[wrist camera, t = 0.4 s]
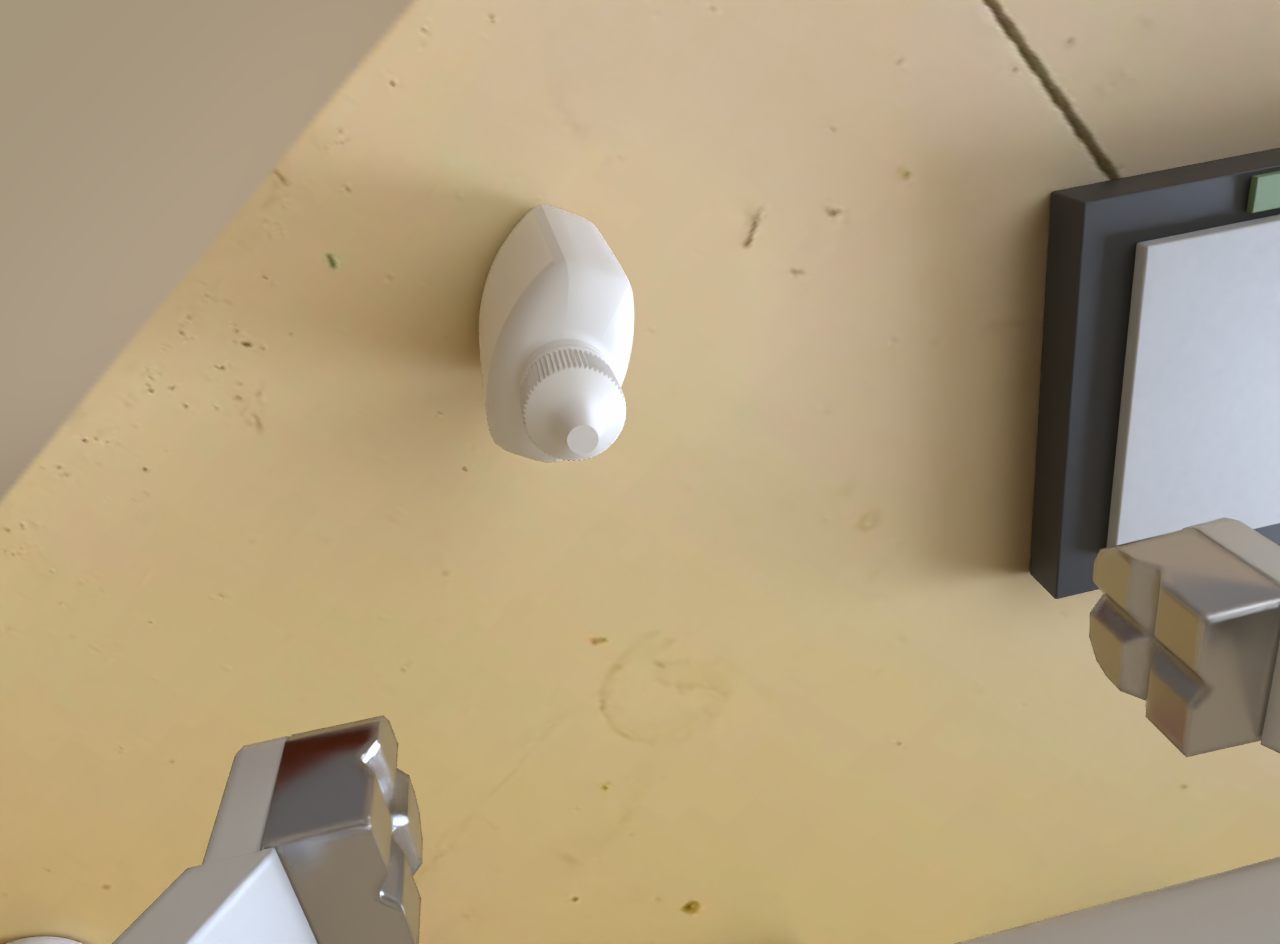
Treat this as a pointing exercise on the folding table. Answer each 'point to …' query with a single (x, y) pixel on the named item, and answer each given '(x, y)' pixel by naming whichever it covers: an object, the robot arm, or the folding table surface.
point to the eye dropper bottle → (555, 339)
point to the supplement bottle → (44, 940)
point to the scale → (1158, 362)
